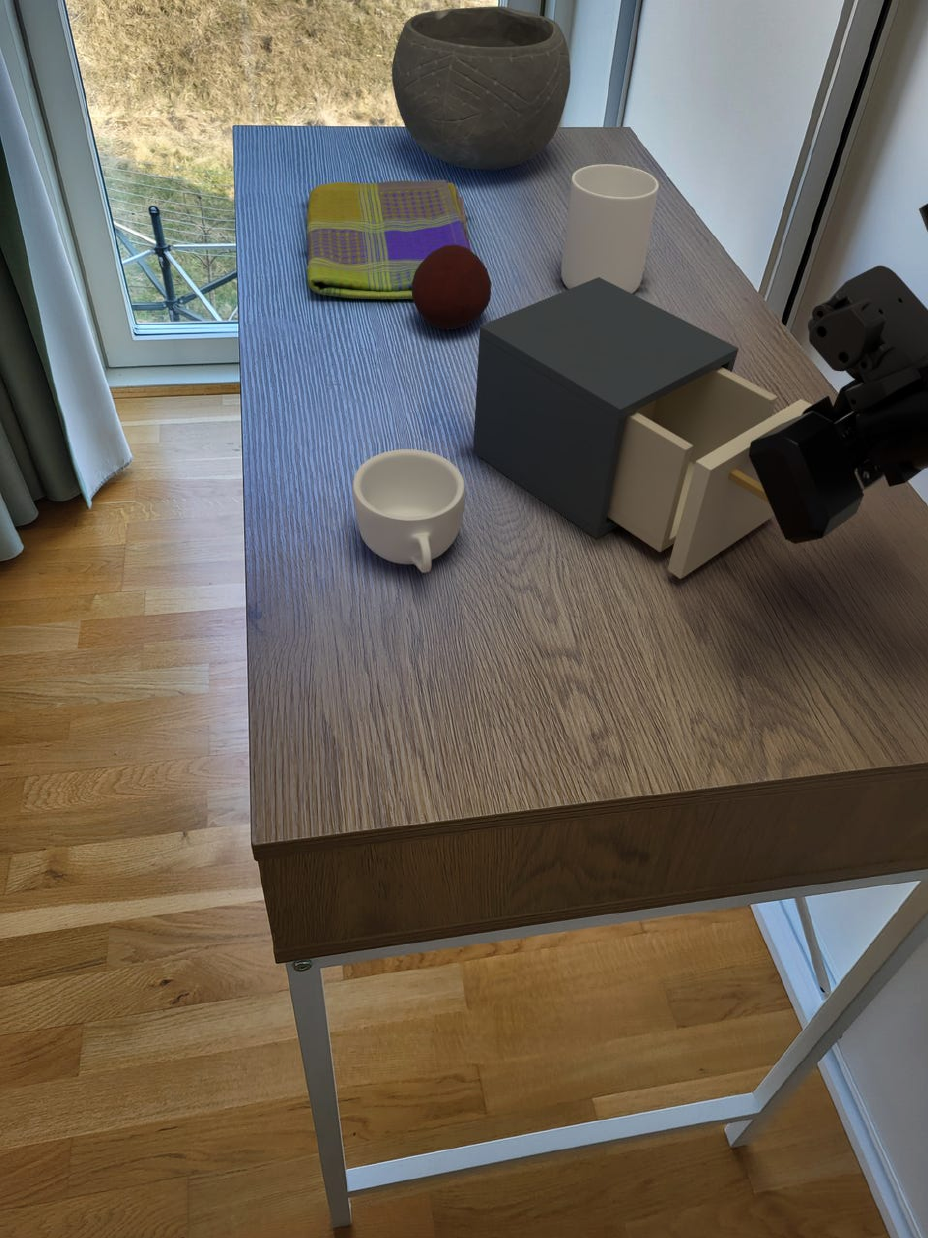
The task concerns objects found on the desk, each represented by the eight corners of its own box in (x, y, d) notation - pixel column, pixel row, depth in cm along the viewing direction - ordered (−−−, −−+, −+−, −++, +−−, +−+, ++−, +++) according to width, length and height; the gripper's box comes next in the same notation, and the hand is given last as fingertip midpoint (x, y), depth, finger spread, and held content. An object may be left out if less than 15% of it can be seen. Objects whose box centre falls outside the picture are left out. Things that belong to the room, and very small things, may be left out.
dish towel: (300, 302, 92) (297, 275, 90) (309, 199, 109) (308, 174, 107) (479, 302, 93) (481, 275, 91) (461, 201, 110) (462, 176, 108)
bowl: (467, 209, 109) (473, 63, 98) (359, 152, 120) (354, 15, 109) (595, 169, 119) (613, 32, 108) (485, 120, 129) (491, -9, 119)
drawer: (834, 547, 68) (879, 439, 62) (737, 618, 63) (776, 509, 56) (650, 436, 77) (673, 331, 70) (551, 490, 72) (566, 383, 65)
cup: (543, 281, 97) (554, 179, 90) (610, 245, 104) (625, 147, 96) (610, 309, 93) (626, 205, 86) (675, 270, 100) (695, 170, 93)
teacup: (347, 515, 70) (343, 455, 66) (448, 502, 72) (450, 443, 68) (370, 609, 63) (368, 548, 59) (481, 593, 65) (486, 533, 61)
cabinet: (704, 474, 75) (739, 347, 67) (596, 539, 69) (620, 409, 61) (580, 398, 82) (598, 276, 74) (472, 452, 76) (479, 325, 68)
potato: (399, 337, 88) (398, 265, 83) (426, 296, 94) (427, 226, 89) (475, 351, 87) (479, 278, 82) (498, 308, 93) (503, 238, 88)
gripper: (1026, 200, 52) (799, 308, 66) (837, 299, 43) (619, 401, 57) (1095, 386, 54) (860, 455, 67) (926, 519, 45) (694, 567, 58)
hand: (765, 465), depth 62 cm, fingers closed, pressing on drawer
